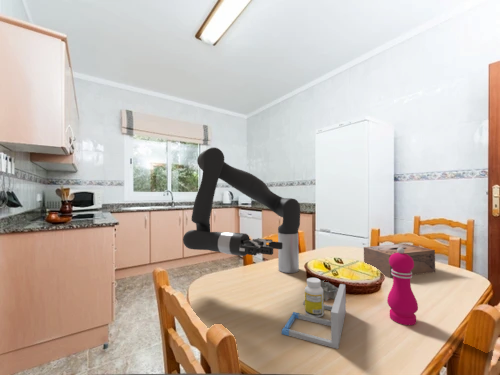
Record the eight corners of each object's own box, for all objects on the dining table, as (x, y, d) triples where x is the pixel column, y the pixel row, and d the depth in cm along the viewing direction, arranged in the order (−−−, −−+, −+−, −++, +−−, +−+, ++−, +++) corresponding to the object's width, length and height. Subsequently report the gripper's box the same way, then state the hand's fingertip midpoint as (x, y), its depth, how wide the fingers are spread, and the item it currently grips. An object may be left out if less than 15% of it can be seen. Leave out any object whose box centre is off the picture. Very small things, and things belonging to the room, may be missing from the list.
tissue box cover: (405, 263, 120) (405, 243, 120) (435, 272, 106) (434, 249, 106) (364, 268, 112) (363, 247, 113) (389, 278, 99) (389, 254, 99)
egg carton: (306, 289, 88) (305, 278, 88) (324, 287, 90) (324, 276, 90) (321, 302, 78) (320, 289, 78) (341, 299, 79) (341, 287, 79)
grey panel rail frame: (301, 302, 77) (300, 277, 77) (345, 311, 71) (345, 284, 71) (281, 333, 60) (281, 301, 60) (338, 349, 54) (337, 313, 54)
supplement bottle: (311, 307, 74) (310, 275, 74) (327, 313, 70) (326, 279, 70) (301, 313, 70) (300, 279, 70) (318, 320, 66) (317, 284, 66)
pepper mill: (423, 328, 62) (421, 251, 62) (393, 325, 63) (391, 249, 64) (411, 314, 69) (409, 245, 70) (383, 311, 70) (382, 244, 71)
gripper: (222, 235, 76) (269, 240, 69) (243, 230, 89) (285, 233, 82) (222, 259, 76) (269, 266, 69) (243, 250, 89) (285, 255, 82)
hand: (277, 248), depth 75 cm, fingers open, 8 cm apart
